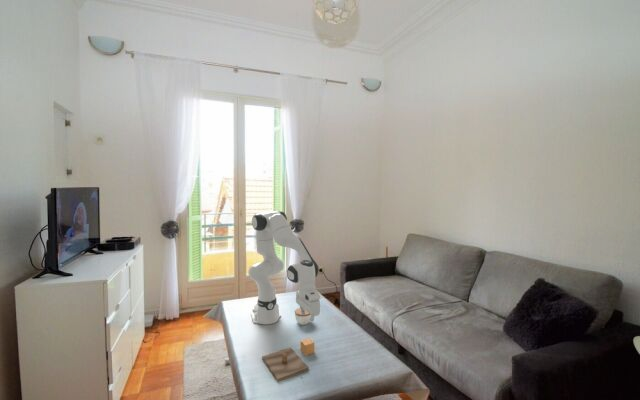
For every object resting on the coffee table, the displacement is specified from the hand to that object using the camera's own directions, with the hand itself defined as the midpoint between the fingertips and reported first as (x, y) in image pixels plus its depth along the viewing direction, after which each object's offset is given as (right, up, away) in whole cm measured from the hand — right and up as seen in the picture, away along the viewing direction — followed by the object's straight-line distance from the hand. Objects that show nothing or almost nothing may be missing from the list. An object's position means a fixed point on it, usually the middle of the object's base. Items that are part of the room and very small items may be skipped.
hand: (307, 317), depth 157 cm
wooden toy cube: (0, -19, +1) cm, 19 cm away
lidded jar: (-4, -17, +33) cm, 37 cm away
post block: (-11, -19, -10) cm, 24 cm away
